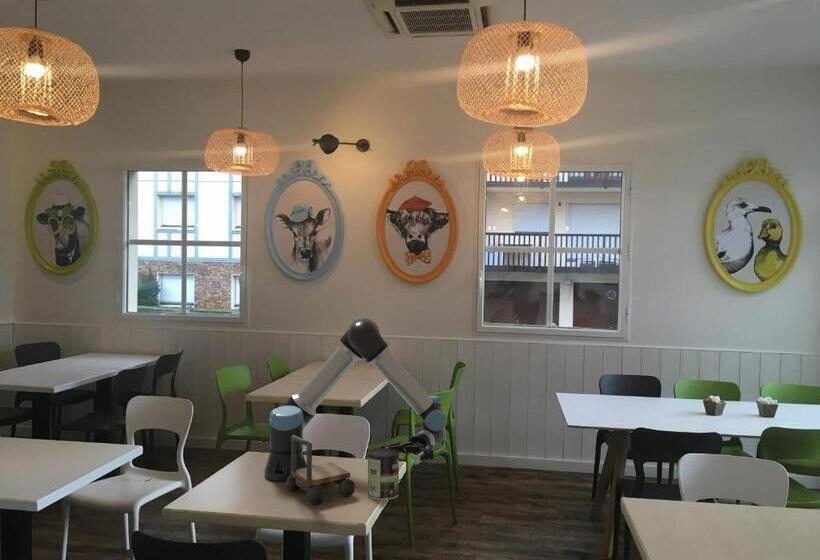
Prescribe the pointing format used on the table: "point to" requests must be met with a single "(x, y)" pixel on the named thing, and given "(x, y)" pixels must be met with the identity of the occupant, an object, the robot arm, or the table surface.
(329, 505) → the table surface
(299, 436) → the robot arm
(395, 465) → the coffee can
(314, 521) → the table surface
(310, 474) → the trolley
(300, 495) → the table surface
